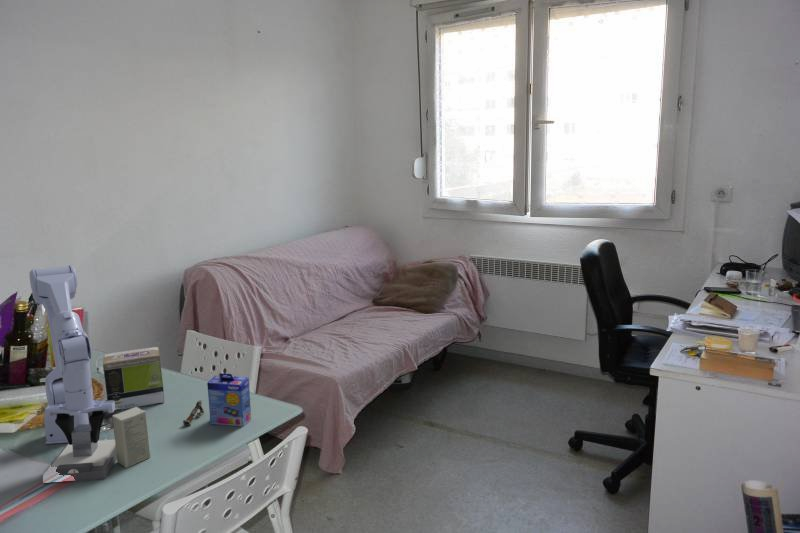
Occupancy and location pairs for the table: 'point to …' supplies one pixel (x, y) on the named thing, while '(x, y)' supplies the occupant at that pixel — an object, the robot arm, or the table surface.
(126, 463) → the skincare box
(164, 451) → the table surface
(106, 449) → the dial scale
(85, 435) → the block
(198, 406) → the wooden post with brackets
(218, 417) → the ink cartridge box
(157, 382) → the tea box
